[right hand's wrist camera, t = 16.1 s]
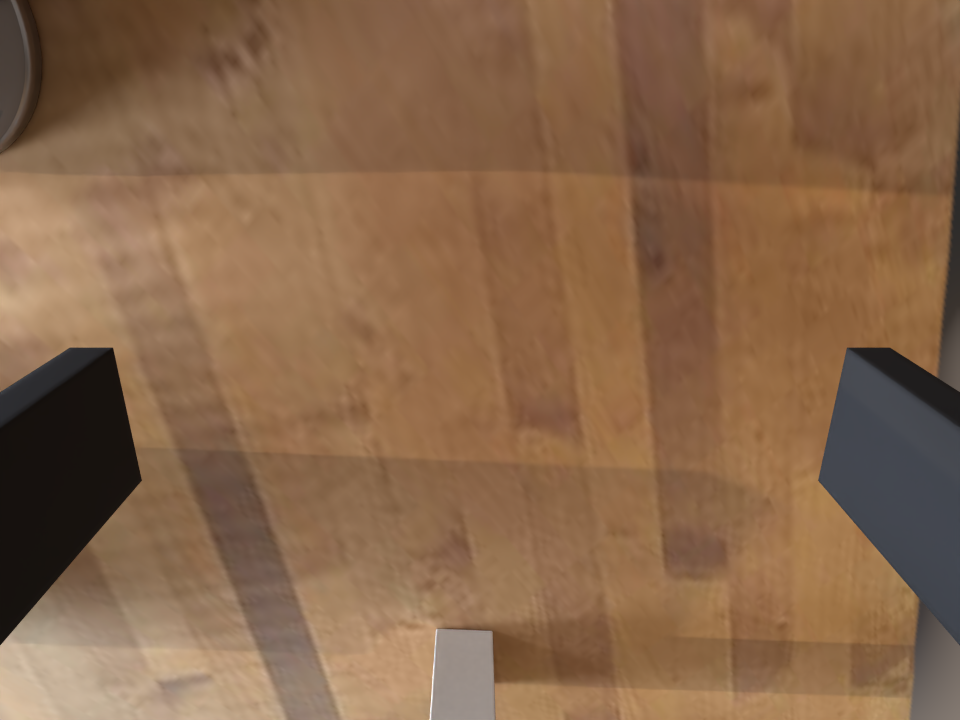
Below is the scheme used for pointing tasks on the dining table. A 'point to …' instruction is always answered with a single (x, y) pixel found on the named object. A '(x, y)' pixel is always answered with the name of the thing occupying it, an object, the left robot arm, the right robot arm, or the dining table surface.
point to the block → (463, 676)
